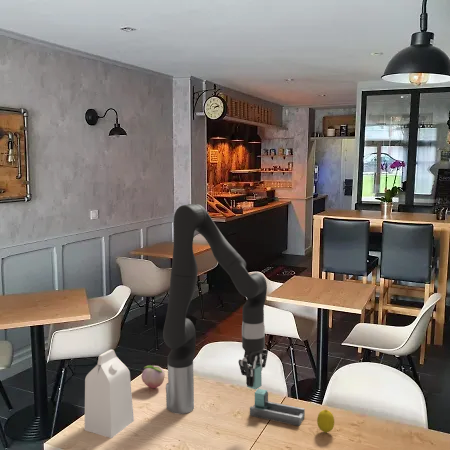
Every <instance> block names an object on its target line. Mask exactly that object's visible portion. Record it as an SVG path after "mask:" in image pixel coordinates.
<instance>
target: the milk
mask: <svg viewBox="0 0 450 450" xmlns="http://www.w3.org/2000/svg"><path fill="white" fill-rule="evenodd" d="M131 382H132V381H131V372H130V370H129V368H128V367H127V366H126V364H125V363H123V362H122V361H121V359H119V357H118V356H117V354H116V352H115V350H114V349H108V350H107V351H105V352H103V353H101V354H99V355H98V360H97V364H96V365H95V366H94V367H93V368H92V369H91V370H90V371H89V372H88V373H87V374H86V376H85V379H84V431H86V432H89V433H94V434H96V435H99V436H103V437H106V438H110V439H113V438H114V437H115V436H117V435H118V434H119V433H121V431H123V430H125V428H126V427H129V425H131V424H132V423H133V422H134V421H135V418H134V417H135V416H134V408H133V407H134V406H133V395H132V394H133V393H132V383H131Z"/></svg>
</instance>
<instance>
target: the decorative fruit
mask: <svg viewBox="0 0 450 450" xmlns="http://www.w3.org/2000/svg"><path fill="white" fill-rule="evenodd" d="M143 369H144V370H142V372H141V380H142V382H143V384H145V385H146V386H147V387H148V388H151V389H156V388H159V387H160V386H162V384H163V383H164V381H165V377H166V376H165V375H166V374H165V370H164V369H163V368H162V367H160V366H159V365H146V366H144V367H143Z"/></svg>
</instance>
